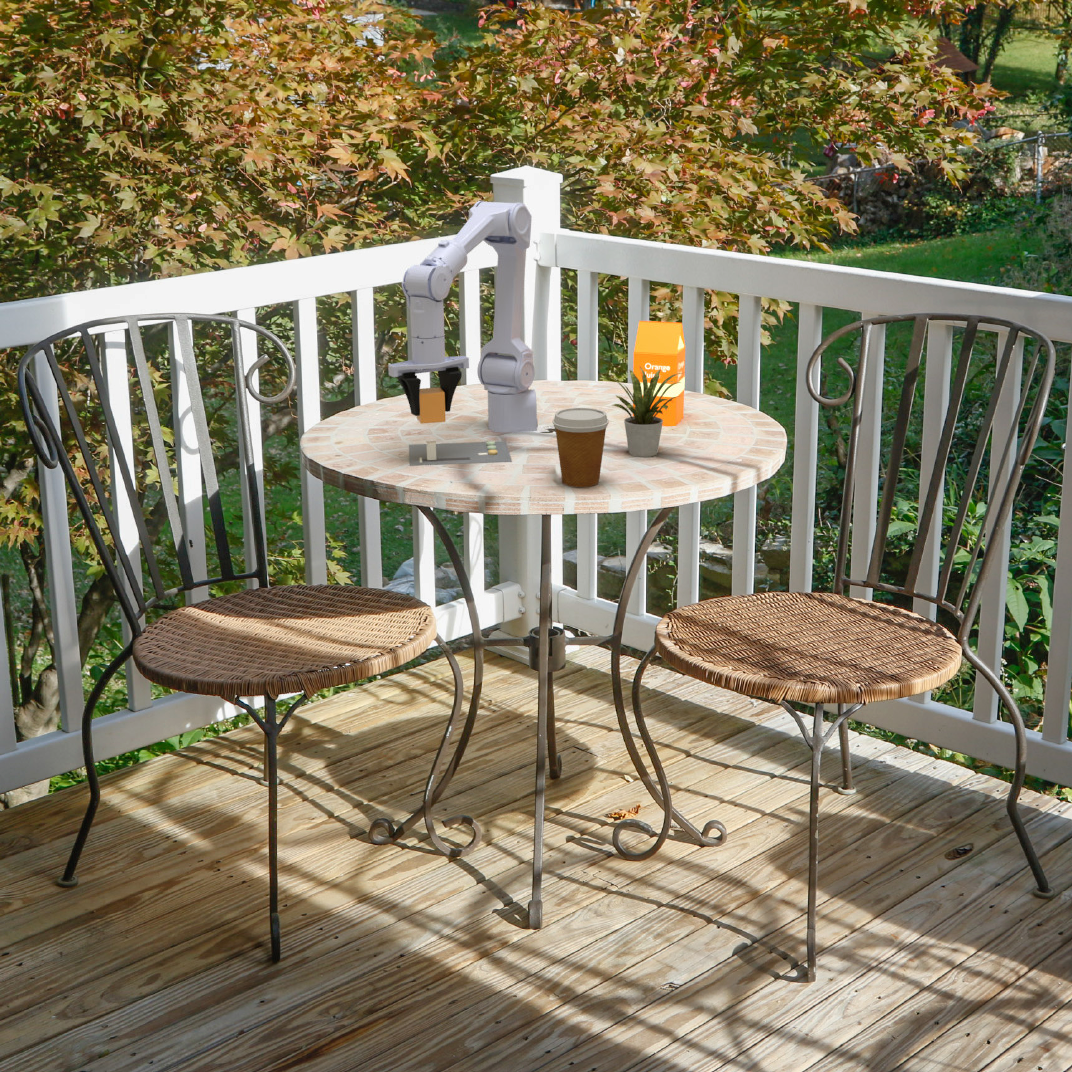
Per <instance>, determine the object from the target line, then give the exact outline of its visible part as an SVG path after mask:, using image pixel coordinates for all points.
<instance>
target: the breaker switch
mask: <svg viewBox="0 0 1072 1072" xmlns="http://www.w3.org/2000/svg"><path fill="white" fill-rule="evenodd" d="M425 442H426V443H425V444H427V460H436V444H437V443H436V442H437V441H435V440H434V441H425Z"/></svg>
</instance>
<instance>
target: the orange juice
mask: <svg viewBox="0 0 1072 1072" xmlns="http://www.w3.org/2000/svg"><path fill="white" fill-rule="evenodd" d="M637 327H638V328H637V332H636V339H635V344H634V349H633V369H632V370H633V372H634V374H635V375H636V377H637V378H638V379H639V381H640V383H642V382H643V380H642V376H643V374H642V376H641V373H642V371H641V369H640V367H641V368H642V369H643V370H644V372H645V374H646V376H647V382H648V387H649V385H650V380H651V379H652V378H653V377H654V375H655V373H656V372H657V371H658V370H659V369H661V371H660V376H659V380H658V382H657V385H656V388H655V391H654V394H653V396H654V395H655V393H656V391H657V390H658V388H659V386H660V385H661V384H662V382H663V381H664V380H665V379H666V378H668V377H669V376H671V375H673V374H677V373H683V374H678V375H676V376H674V377H673V378H671V379H670V380H669V381H675V382H669V381H667V382H668V383H667V382H666V384H665V385H664V386H663V387H662V389H661V390H660V392H659V393H658V395H657V396H656V398H655V400H654V402H653V403H652V405H651V407H652V406H653V405H654V404H655V402H657V401H658V400H659V398H660V397H661V395H662V393H663V392H664V391H665V389H666V388H667V387H668V386H670V385H671V384H673V383H676V382H682V383H677V384H674V385H673V386H671V387H670V388H669V389H668V390H667V391H666V392H665V394H664V395H663V396H662V398H661V399H668V400H669V399H670V398H673V397H676V396H681V397H676V398H674V399H672V401H673V402H674V403H673V402H672V401H670V402H668V403H667V404H666V405H667V406H668V408H667V411H666V409H664V408H662V409H661V411H662V412H663V415H662V414H661V413H658V414H657V415H656V417H658V418H661V419H662V420H663V424H662V427H669V426H676V425H677V424H678V425H679V424H680V422H681V421H682V420H684V410H685V405H684V404H685V403H684V402H685V383H686V382H685V379H686V376H685V375H686V371H685V369H686V343H685V336H684V328H683V323H682V322H676V321H675V322H673V321H671V322H670V321H653V320H652V321H651V320H638V326H637ZM639 365H640V366H639ZM638 368H639V369H640V370H639V369H638ZM640 371H641V373H640ZM640 385H641V390H642V397H643V383H642V384H640ZM632 400H633V399H632ZM668 400H665V401H662V402H661V403H659V404H658V405H657V406H656V407H658V406H662V405H663V404H664V403H665V402H666V401H668ZM633 401H634V400H633ZM632 406H634V407H635V405H634V404H633V403H632ZM660 408H661V407H659V408H658V409H657V410H659V409H660ZM650 409H651V408H650ZM655 414H656V412H655ZM655 414H654V415H655ZM632 416H634V414H633V413H632ZM681 419H682V420H681ZM678 425H677V426H678ZM677 426H676V427H677Z"/></svg>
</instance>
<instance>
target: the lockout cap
mask: <svg viewBox="0 0 1072 1072" xmlns="http://www.w3.org/2000/svg"><path fill="white" fill-rule="evenodd" d="M419 403H420V416H416V419H417V420H418V422H419V423H420V424H432V423H434V424H435V423H436V424H437V423H446V421H447V420H446V411H445V393H444V391H443V390H442V389H441V388H440V386H439V387H428V388H427V387H426V388H425V387H423V388H420V392H419Z"/></svg>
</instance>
